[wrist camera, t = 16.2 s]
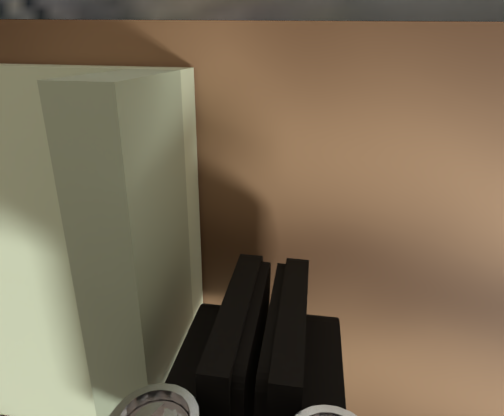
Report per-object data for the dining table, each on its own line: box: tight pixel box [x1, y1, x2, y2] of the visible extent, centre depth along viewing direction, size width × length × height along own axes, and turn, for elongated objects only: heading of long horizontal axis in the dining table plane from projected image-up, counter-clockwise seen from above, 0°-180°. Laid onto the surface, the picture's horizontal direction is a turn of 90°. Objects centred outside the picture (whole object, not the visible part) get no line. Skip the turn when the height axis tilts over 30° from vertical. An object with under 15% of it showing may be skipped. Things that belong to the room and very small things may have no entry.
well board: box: [0, 19, 504, 416], centre depth 13 cm, size 13×26×2 cm, turn 90°
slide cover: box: [0, 63, 203, 416], centre depth 10 cm, size 11×9×4 cm
